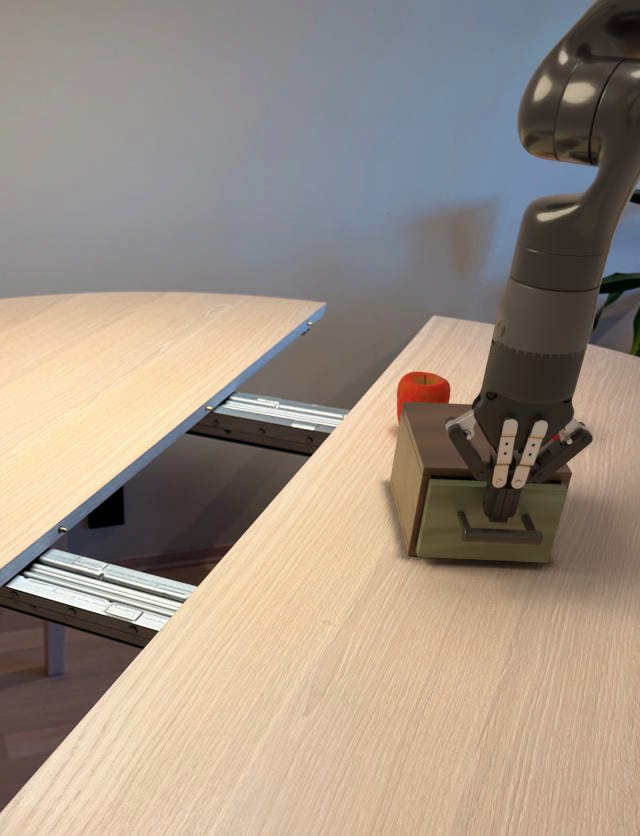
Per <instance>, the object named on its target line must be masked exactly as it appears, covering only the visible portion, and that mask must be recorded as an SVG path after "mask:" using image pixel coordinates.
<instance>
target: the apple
mask: <svg viewBox="0 0 640 836" xmlns="http://www.w3.org/2000/svg"><path fill="white" fill-rule="evenodd" d="M396 389H397V390H396V417H397V424H399V423H400V417H401V411H402V405H403V402H422V403H449V404H450V399H451V384H450V383H449V381H448V379H446V378H445V377H443V376H441V375H439V374H436V373H432V372H426V371H411V372H408V373H406V374H404V375H403V376H402V377H401V378H400V380H399V382H398V384H397V388H396Z"/></svg>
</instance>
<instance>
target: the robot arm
mask: <svg viewBox="0 0 640 836" xmlns="http://www.w3.org/2000/svg"><path fill="white" fill-rule="evenodd" d="M516 125H517V134H518V139H519V141H520V144H521V146H522V147H523V148H524V150H525V151H526V153H528V154H529V155H531V156H532V157H535V158H537V159H541V160H546V161H552V162H559V163H560V162H561V163H568V164H573V165H579V166H581V165H582V166H588V167H596V168H598V169H597V172H596V175H595V178H594V180H593V181H592V183H591V184H590V185H589V186H588V187H587V189H586V190H585V191H584V192H575V193H562V194H560V193H559V194H550V195H544V196H541V197H537V198H536V199H534V200H532V201H531V202H529V204H528V205H527V206H526V208H525V209H524V211H523V214H522V217H521V220H520V224H519V228H518V233H517V236H516V242H515V247H514V250H513V255H512V260H511V265H510V268H509V269H510V270H509V274H508V277H507V281H506V283H505V284H506V285H505V287H504V290H503V293H502V296H501V299H500V301H499V305H498V310H497V314H496V319H495V323H494V327H493V333H492V338H491V342H490V347H489V351H488V355H487V360H486V364H485V365H486V366H485V370H484V374H483V378H482V384H481V388H480V391H479V393H478V394H477V396H476V397H475V398H474V399H473V401H472V403H471V404H472V409H471V410H470V411H468V412H466V413H465V414H463V415H461V416H460V417H458V418H456V417H449V418H447V419H446V420H445V422H444V425H445V428H446V431H447V433H448V436H449V438H450V440H451V441H452V443H453V444H454V446H455V448H456V449H457V451H458V452H459V454H460V455H461V457H462V459H463V460H464V462H465V463H466V465H467V467H468V468H469V470H470V471H471V473H472V475H473V476H474V478H475V479H476V480H478V481H481V480H485V481H487V484H486V488H485V492H484V497H483V501H482V508H483V511H484V513H485V516H488V519H489V522H493V523H507V520H508V517H510V518H512V517H513V516H514V515H515V513H516V510H517V506H518V502H519V498H520V494H521V491H522V488H523V487H524V486H525V485H526V484H528V483H532V482H536V483H543V482H544V481H546V480H547V479H548V478H549V477H551V476H552V475H553V474H554V473H555V472H557V471H558V470H559V469H560V468H561V467H563V466H564V465H565V464H566V463H567V464H568V463H569V462H570V461H571V460H572V459H574V458H575V457H576V456H577V455H578V454H580V453H581V452H582V451H583V450H584V449H586V448H587V447H588V446H589V445H590V444H592V442H593V440H594V437H593V435H592V433H591V432H590V430H589V429H588V427H587V426H586V425H585V423H584V422H582V421H578V420H577V419H576V418H575V408H574V405H573V398H574V395H575V393H576V389H577V385H578V381H579V378H580V374H581V370H582V367H583V364H584V359H585V355H586V352H587V349H588V345H589V342H590V340H591V338H592V336H593V332H594V322H595V319H596V316H597V311H598V310H597V309H598V303H599V297H600V290H601V285H602V281H603V277H604V273H605V270H606V267H607V262H608V260H609V255H610V251H611V248H612V245H613V241H614V238H615V236H616V232H617V229H618V227H619V224H620V222H621V220H622V218H623V215H624V214H625V211H626V209H627V206H628V205H629V203H630V201H631V199H632V197H633V195H634V193H635V191H636V188H637V186H638V185H639V183H640V0H595V1H593V3H591V4H590V6H589V7H588V8H587V9H586V10H585V11H584V12H583V14H582V15H581V16H580V17H579V18H578V19H577V20H576V22H575V23H574V24H573V25H572V26H571V27H570V28H569V30H567V32H566V33H565V34H564V35H563V36H562V37H561V38H560V39H559V41H558V42H557V43H555V45H554V46H553V47H552V49H550V51H549V52H548V53H547V54H546V55H545V57H544V58H543V59H542V60H541V61H540V63H539V65H538V66H537V68H536V69H535V71H534V72H533V73H532V75H531V77H530V79H529V80H528V83H527V84H526V86H525V89H524V91H523V93H522V96H521V99H520V101H519V106H518V110H517V117H516ZM476 423H478V425H479V427H480V428H481V430H482V432H483V434H484V436H485V438H486V439H487V441H488V443H489V444H490V447H489V450H490V456H489V462H486V461H484V460H482V458H481V457H480V455H479V453H478V452H477V450H476V449H475V447H474V445H473V444H472V442H471V441H470V440H471V439H472V438H473V437H474V435H475V431H474V425H475V424H476ZM557 433H558V438H557V439H556V440H554V441H553V442H552V443H551V444H550V445H549V446H547V447H546V448H545V449H544V450H543V451H542V452H540V453H539V454H538V451H539V449H540V448H542V447H543V446H544V445H545V444H546V443H548V442H549V441H550V440H551V439H552V438H553V437H554V436H555V435H556V434H557ZM537 454H538V455H537Z"/></svg>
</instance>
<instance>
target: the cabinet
mask: <svg viewBox="0 0 640 836" xmlns="http://www.w3.org/2000/svg"><path fill="white" fill-rule="evenodd" d="M471 409H472V403H450V402H449V403H422V402H403V405H402V411H401V417H400V423H398V430H397V436H396V443H395V449H394V455H393V460H392V467H391V474H390V479H389V486H390V490H391V491H390V492H391V495H392V499H393V502H394V505H395V506H394V507H395V510H396V514H397V518H398V523H399V526H400V530H401V534H402V539H403V542H404V546H405V550H406V554H407V557H418V556H417V552H416V548H417V542H418V537H419V532H420V527H421V521H422V516H423V511H424V505H425V500H426V495H427V490H428V484H429V479H431V477H432V476H453V477H474V476H473V475H472V473H471V471H470V470H469V468H468V467H467V465H466V463H465V462H464V460H463V459H462V457H461V455H460V454H459V452H458V451H457V449H456V448H455V446H454V444H453V443H452V441H451V440H450V438H449V436H448V433H447V431H446V428H445V425H444V422H445V420H446V419H447V418H449V417H456V418H458V417H460V416H461V415H463V414H465V413H466V412H468V411H470V410H471ZM474 431H475V435H474V437H473V438H472V439H471V440H470V441H471V442H472V444H473V445H474V447H475V449H476V450H477V452H478V453H479V455H480V457H481V458H482V460H484V461H486V462H489V456H490V450H489V447H490V444H489V443H488V441H487V439H486V438H485V436H484V434H483V432H482V430H481V428H480V427H479V425H478V423H476V424H475V425H474ZM552 442H553V439H551V440H550V441H549V442H548V443H546V444H545V445H544V446H543V447H542V448H540V449H539V451H538V454H539V453H540V452H542V451H543V450H544V449H545V448H546V447H547V446H549V445H550V444H551V443H552ZM538 454H537V455H538ZM572 476H573V472H572V470H571V468H570V466H569V465H568V462H567V463H566V464H565V465H564V466H563V467H561V468H560V469H559V470H558V471H557V472H555V473H554V474H553V475H552V476H551V477H549V478H548V479H547V480H551V484H563V485H565V486H566V487H567V489H568V490H569V488H570V487H569V486H570V483H571V480H572Z"/></svg>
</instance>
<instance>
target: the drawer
mask: <svg viewBox="0 0 640 836" xmlns="http://www.w3.org/2000/svg"><path fill="white" fill-rule="evenodd" d="M486 484H487V481H485V480H481V481H478V480H476V479H475V478H474V477H453V476H432V477H431V479H429V484H428V490H427V495H426V500H425V505H424V511H423V516H422V521H421V527H420V532H419V537H418V542H417V548H416V552H417V556H416V557H418V558H439V559H460V560H480V561H481V560H483V561H502V562H503V561H504V562H523V563H524V562H525V563H526V562H528V563H547V564H548V563H549V560H550V556H551V553H552V549H553V546H554V542H555V539H556V535H557V532H558V528H559V525H560V520H561V517H562V513H563V511H564V506H565V503H566V499H567V496H568V493H569V488H568V489H567V487H566V486H565V485H563V484H551V480H546V481H544V482H543V483H536V482H532V483H528V484H526V485H525V486H524V487H523V488H522V491H521V494H520V498H519V502H518V506H517V510H516V513H515V515H514V516H513V517H512V518H510V517H508V520H507V523H493V522H489V519H488V516H485V513H484V511H483V508H482V501H483V497H484V492H485V488H486Z"/></svg>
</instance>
